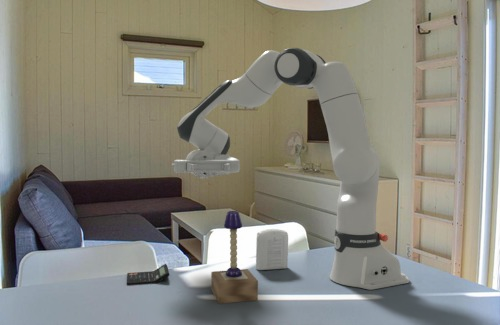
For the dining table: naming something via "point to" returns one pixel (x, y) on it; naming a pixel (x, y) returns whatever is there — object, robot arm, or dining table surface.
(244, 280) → the cardboard box
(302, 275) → the dining table surface
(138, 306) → the dining table surface
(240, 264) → the dining table surface
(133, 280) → the calculator
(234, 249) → the toy lamp
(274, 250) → the white upright block
